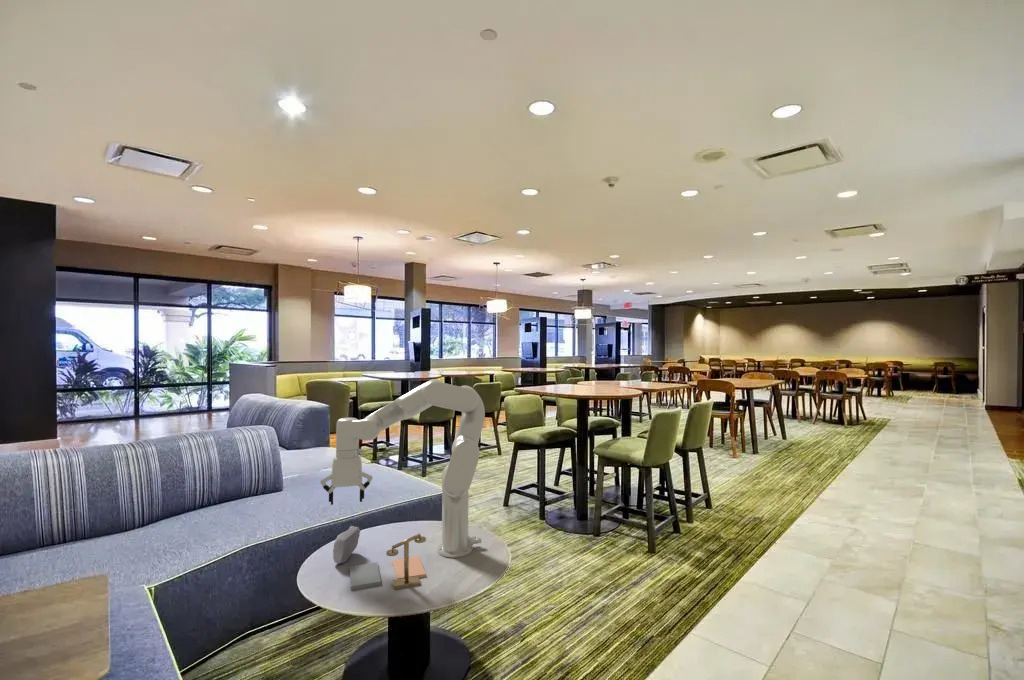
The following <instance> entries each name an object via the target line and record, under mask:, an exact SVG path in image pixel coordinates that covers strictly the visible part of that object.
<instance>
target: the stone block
mask: <svg viewBox="0 0 1024 680" xmlns="http://www.w3.org/2000/svg"><path fill="white" fill-rule="evenodd" d="M360 534H361V529H360V528H359V527H358V526H354V525H352V526H349V529H347V530H346V531H343V532H341V533H340V534H338V535H337V537H336V538H335V539H334V540H335V541H334V543H333V549H332V551H333V553H332V555H333V556H332V559H333V562H334V563H336V564H338V565H339V564H344V563H346V562H347V560H349V558H350V557H351V555H352V554H353V553H354V551H355V550H356V548H357V547H358V544H359V538H360Z"/></svg>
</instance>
